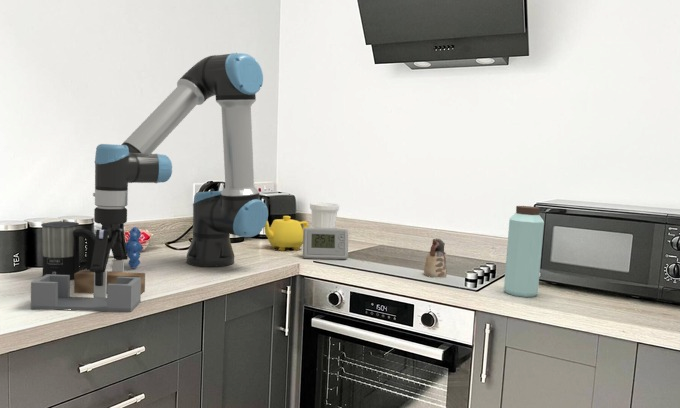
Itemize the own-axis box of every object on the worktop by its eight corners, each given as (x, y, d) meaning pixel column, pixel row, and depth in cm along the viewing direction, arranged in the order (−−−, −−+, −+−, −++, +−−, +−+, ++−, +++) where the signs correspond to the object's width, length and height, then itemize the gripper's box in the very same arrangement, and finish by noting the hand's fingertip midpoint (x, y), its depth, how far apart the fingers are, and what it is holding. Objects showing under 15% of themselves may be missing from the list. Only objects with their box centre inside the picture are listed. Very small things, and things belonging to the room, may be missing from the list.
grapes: (119, 263, 175) (120, 224, 174) (143, 262, 177) (143, 224, 176) (117, 271, 164) (118, 230, 163) (142, 271, 166) (143, 230, 165)
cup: (326, 243, 230) (328, 206, 229) (302, 239, 237) (303, 203, 236) (343, 240, 241) (345, 204, 239) (319, 236, 247) (321, 202, 246)
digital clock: (300, 259, 196) (301, 228, 195) (304, 254, 205) (305, 225, 204) (347, 262, 195) (348, 231, 194) (348, 257, 204) (350, 228, 203)
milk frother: (39, 282, 148) (39, 226, 146) (44, 269, 162) (44, 218, 161) (98, 280, 153) (99, 225, 152) (98, 267, 168) (98, 218, 166)
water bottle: (497, 288, 168) (504, 204, 165) (529, 289, 168) (537, 206, 166) (510, 297, 158) (517, 208, 155) (544, 298, 158) (552, 209, 156)
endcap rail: (140, 302, 134) (140, 277, 134) (130, 311, 126) (131, 285, 126) (46, 299, 132) (46, 274, 132) (30, 309, 124) (30, 282, 124)
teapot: (252, 246, 215) (253, 214, 214) (299, 244, 226) (300, 213, 224) (266, 253, 204) (267, 218, 203) (315, 250, 214) (316, 218, 213)
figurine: (450, 276, 181) (453, 239, 180) (437, 279, 176) (440, 240, 175) (432, 272, 186) (435, 236, 185) (419, 274, 181) (421, 237, 180)
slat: (144, 292, 144) (145, 273, 144) (139, 296, 140) (140, 276, 140) (80, 289, 144) (81, 270, 143) (74, 293, 140) (74, 273, 139)
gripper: (111, 201, 152) (110, 279, 154) (75, 211, 127) (74, 304, 129) (140, 203, 152) (138, 280, 154) (110, 213, 128) (108, 305, 130)
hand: (109, 291), depth 142 cm, fingers open, 13 cm apart
